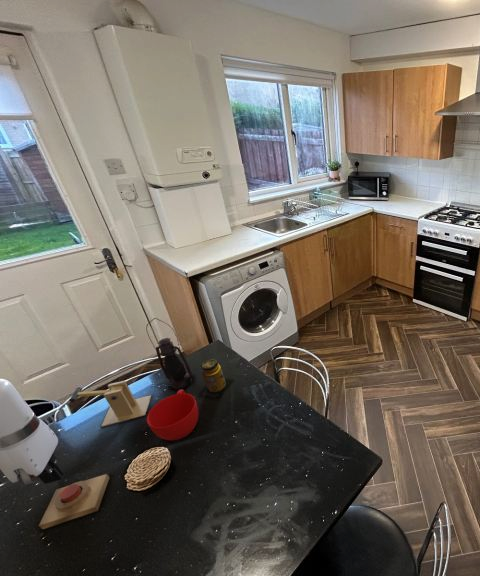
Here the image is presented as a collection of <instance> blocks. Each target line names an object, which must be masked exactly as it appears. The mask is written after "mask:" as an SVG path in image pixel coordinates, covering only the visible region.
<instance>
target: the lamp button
mask: <svg viewBox="0 0 480 576" xmlns="http://www.w3.org/2000/svg"><path fill="white" fill-rule="evenodd" d="M69 485H70V486H69ZM69 485H67V486H68V487H66V486H65V487H66V488H65V489H64V490H63V491H62V492H61V494H60V499H61V500H62V501H63V502H65V503H67V502H71V501H72V500H74V499H76V498H77V497H78V496H79V495H80V493H81V491H82V490H81V488H80V487H79V486H78V485H77V484H73V483H72V485H71V484H69Z"/></svg>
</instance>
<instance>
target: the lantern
mask: <svg viewBox="0 0 480 576" xmlns="http://www.w3.org/2000/svg"><path fill="white" fill-rule="evenodd" d="M155 319H156V320H158V321H159V322H162V323H164V324H166V325H167V326H169V324H168V323H167V322H165V321H163V320H162V319H158V318H157V317H153V318H152V319H151V320H150V321H149V322H148V323H147V324H146V328H145V331H146V334H147V336H148V339H149V340H150V343H151V344H152V347H154V350H155V352H156V356H157V359H158V362H159V365H160V368H161V370H162V372H163V374H164V377H165V378H166V379H167V380H169V388H172V389H174V390H180V389H183V388H185V387H187V386H188V385H189V384H191V383H192V381H193V380H192V379H194V375H193V373H192V370H191V368H190V365H189V363H188V361H187V359H186V358H185V356H184V354H183V352H182V350H181V348H180V347H181V346H180V343H179V338H178V336H177V335H176V332H175V331H174V328H173V327H171V326H170V328H171V330H172V331H173V334H174V335H175V337H176V341H177V345H178V346H176V345H174V343H173V341H172V340H171V338H169V337H165V338H162V339H160V340H159V341H158V343H157V344H158V345H159V346H156V347H155V345H154V343H153V341H152V339H151V337H150V335H149V331H148V325H150V323H152V322H153V321H154V320H155ZM162 357H164V362H163V358H162Z"/></svg>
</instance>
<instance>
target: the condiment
mask: <svg viewBox="0 0 480 576" xmlns="http://www.w3.org/2000/svg"><path fill="white" fill-rule="evenodd" d="M201 371H202V372H201V375H202V377H203V381H205V385H206V388H207V390H208V392H210V393H217V392H220V391H222V390H223V389H224V388H226V385H227V382H226V379H225V376H224V373H223V370H222V367H221V365H220V363H219V362H218V360H217V359H215V358H210V359H207V360H205V361H203V362H202V364H201Z"/></svg>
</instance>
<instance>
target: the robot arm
mask: <svg viewBox="0 0 480 576" xmlns="http://www.w3.org/2000/svg"><path fill="white" fill-rule="evenodd" d="M58 444H59V438H58V436H57V434H56V433H55V432H54V431H53V430H52V428H51V427H50V426H49V425H48V424H47V423H45V422H44V421H43V420H42V419H41V418H39V417H38V416H37V415H36V413H35V412H34V410H32V408H31V407H30V406H29V404H28V403H27V401H26V400H25V399H24V397H23V396H22V395H21V394H20V393H19V392H18V390H17V389H16V387H15V386H14V384H12V382H11V381H9V380H8V379H5V378H0V471H1V473H2V474H3V475H4V476H5V477H6V479H8V480H9V482H11V483H13V484H15V483H18V482H19V480H22V482H23V484H24V486H25V487H28V486H30V485H34V484H36V483H37V481H38V480H39V479H40V481H41V482H42V483H43V484H45V485H46V484H51V483H54V482H58V481H60V480H62V479H63V476H64V475H65V472H64V470H63V468H61V466H60V465H59V464H58V463H57V462H58V459H57V457H56V455H55V450H56V448H57V446H58Z"/></svg>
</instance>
